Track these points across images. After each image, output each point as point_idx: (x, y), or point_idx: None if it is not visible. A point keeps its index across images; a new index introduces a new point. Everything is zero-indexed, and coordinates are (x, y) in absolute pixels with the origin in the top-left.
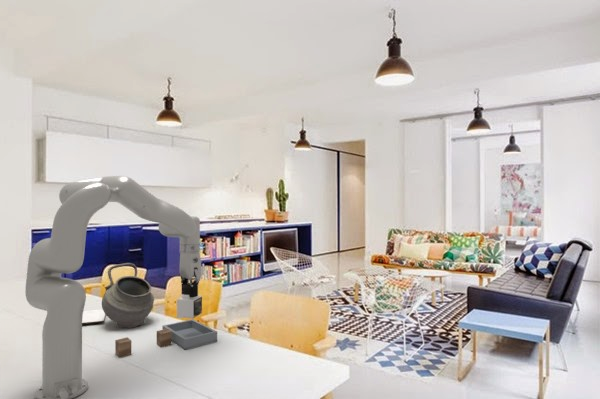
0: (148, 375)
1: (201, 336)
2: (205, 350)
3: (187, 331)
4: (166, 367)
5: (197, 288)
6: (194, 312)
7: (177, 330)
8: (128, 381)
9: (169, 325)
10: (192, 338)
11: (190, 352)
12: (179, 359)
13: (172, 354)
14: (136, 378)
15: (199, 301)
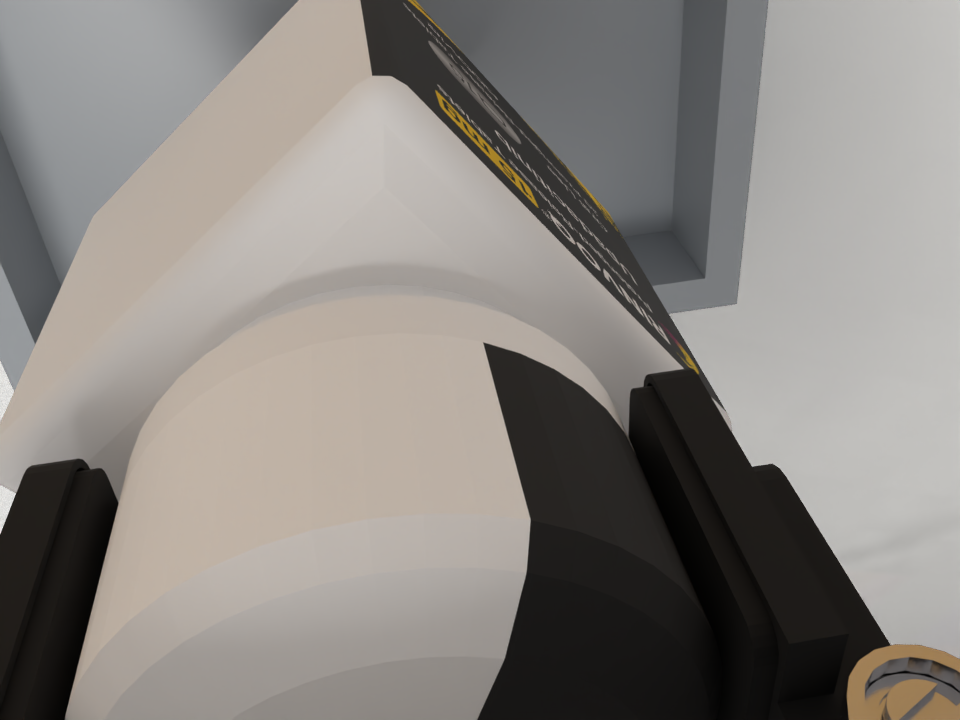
0: (931, 557)
1: (754, 75)
2: (871, 52)
3: (115, 39)
4: (916, 452)
5: (793, 554)
6: (630, 253)
7: (9, 158)
8: (908, 643)
9: (27, 320)
10: (741, 205)
11: (793, 212)
12: (862, 341)
13: (710, 364)
14: (908, 610)
15: (509, 163)
